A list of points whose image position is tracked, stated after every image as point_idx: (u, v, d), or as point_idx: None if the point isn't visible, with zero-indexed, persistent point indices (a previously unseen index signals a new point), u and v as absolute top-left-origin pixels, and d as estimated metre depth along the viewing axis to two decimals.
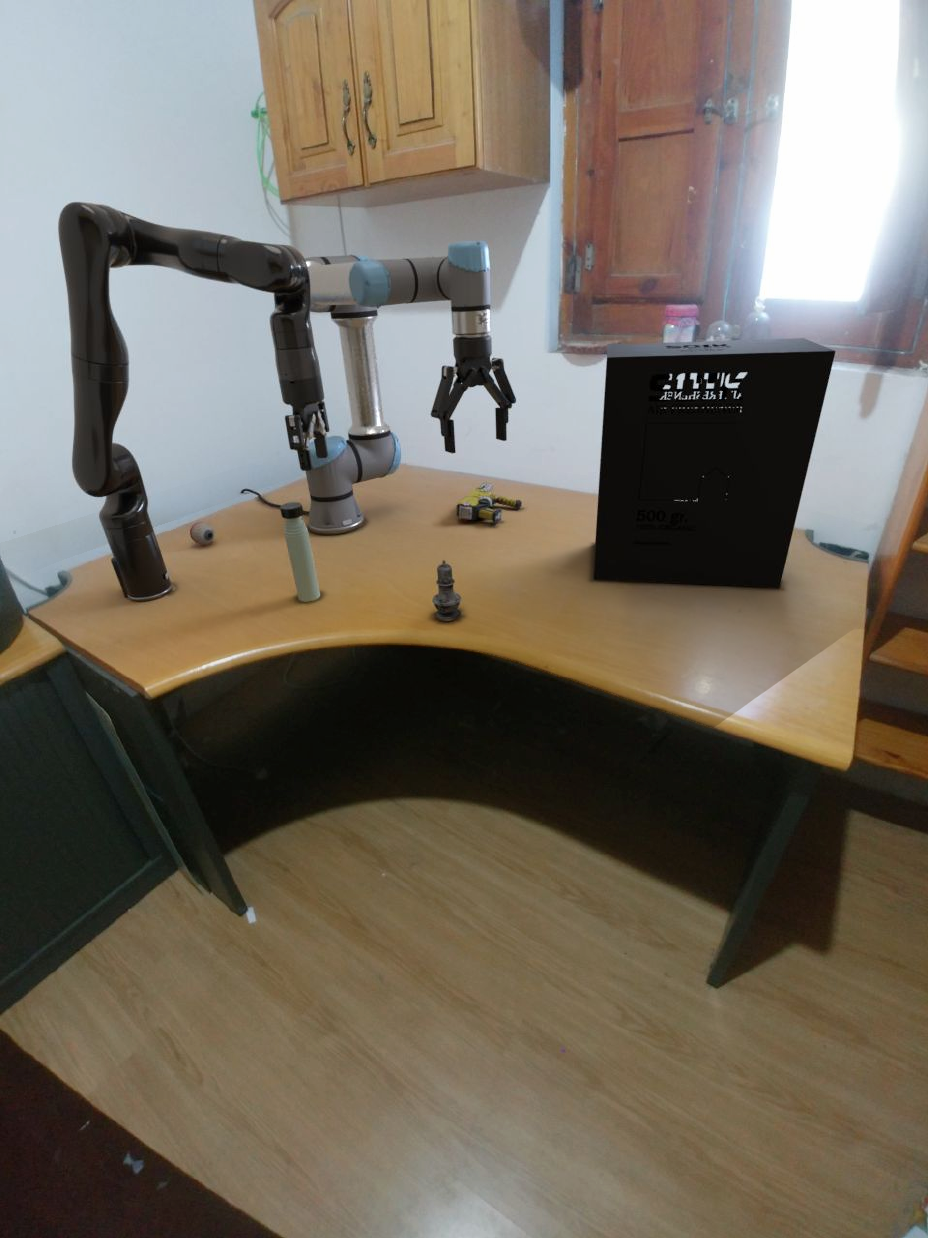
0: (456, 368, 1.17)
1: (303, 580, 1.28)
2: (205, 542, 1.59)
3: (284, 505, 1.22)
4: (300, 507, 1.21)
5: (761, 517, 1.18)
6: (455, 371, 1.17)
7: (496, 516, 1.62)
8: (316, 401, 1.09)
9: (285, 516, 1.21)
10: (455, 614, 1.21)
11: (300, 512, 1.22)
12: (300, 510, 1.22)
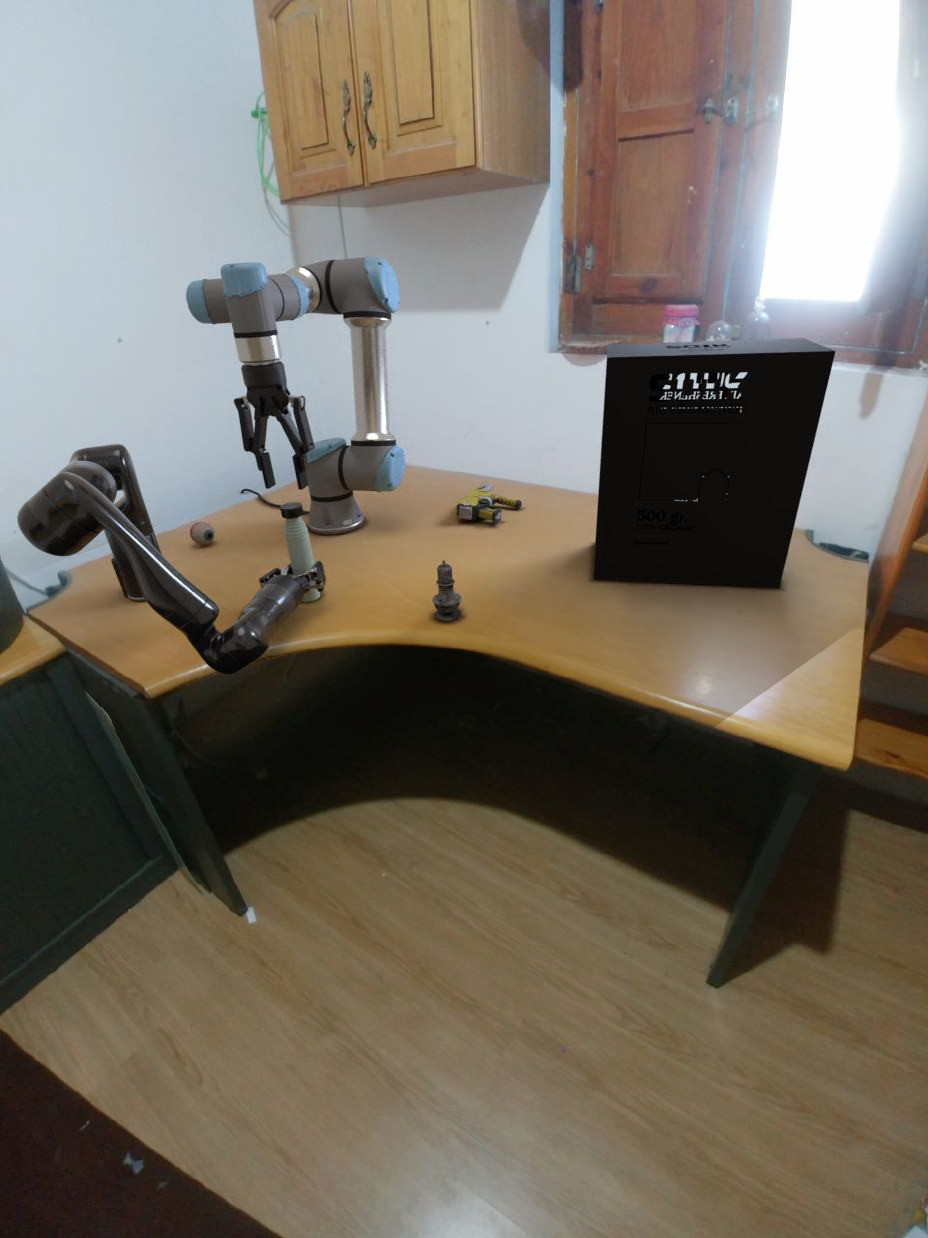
0: None
1: None
2: (205, 542, 1.59)
3: (284, 505, 1.22)
4: (300, 507, 1.21)
5: (761, 517, 1.18)
6: None
7: (496, 516, 1.62)
8: None
9: (285, 516, 1.21)
10: (455, 614, 1.21)
11: (300, 512, 1.22)
12: (300, 510, 1.22)
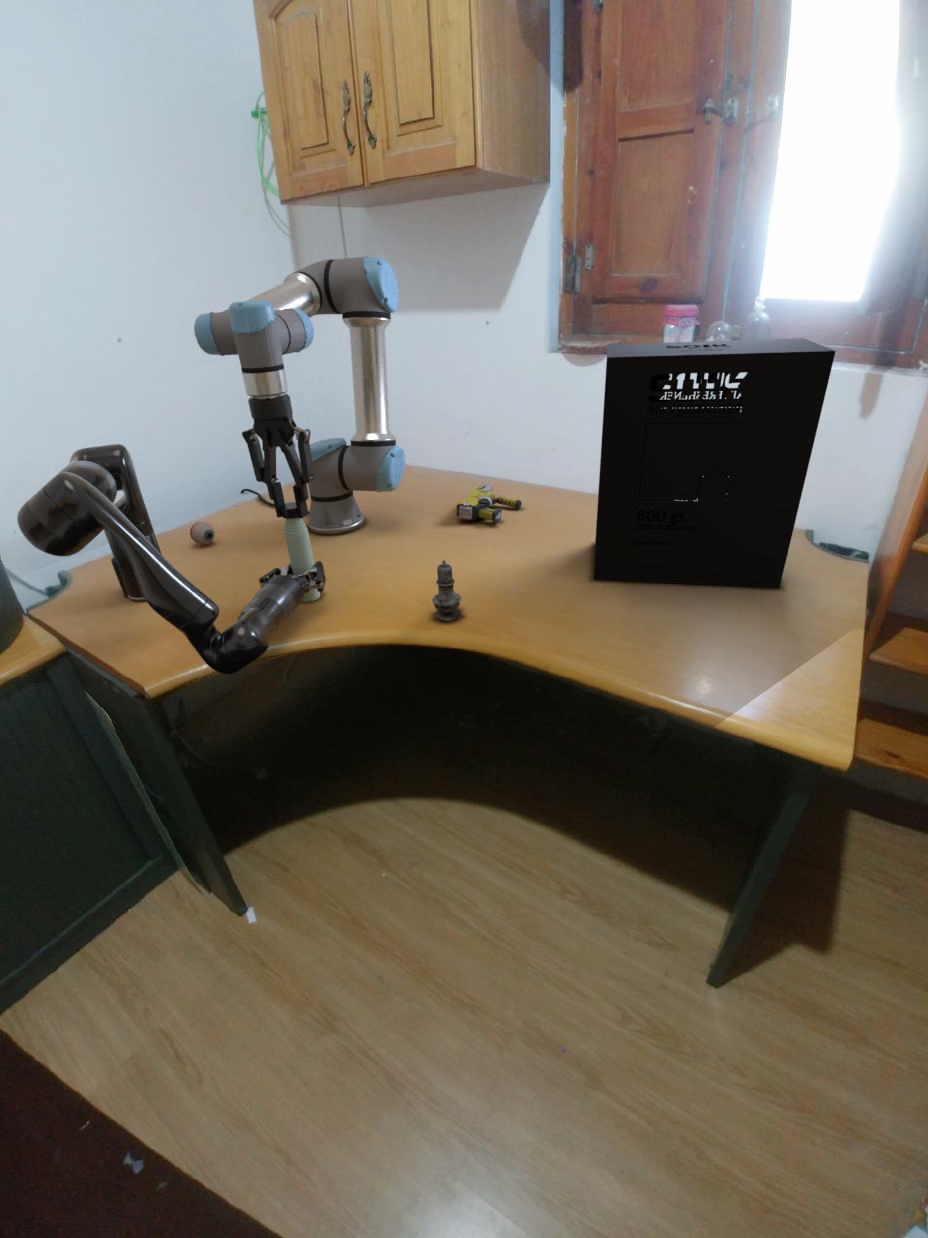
0: None
1: None
2: (205, 542, 1.59)
3: (284, 505, 1.22)
4: None
5: (761, 517, 1.18)
6: None
7: (496, 516, 1.62)
8: None
9: (285, 516, 1.21)
10: (455, 614, 1.21)
11: None
12: None
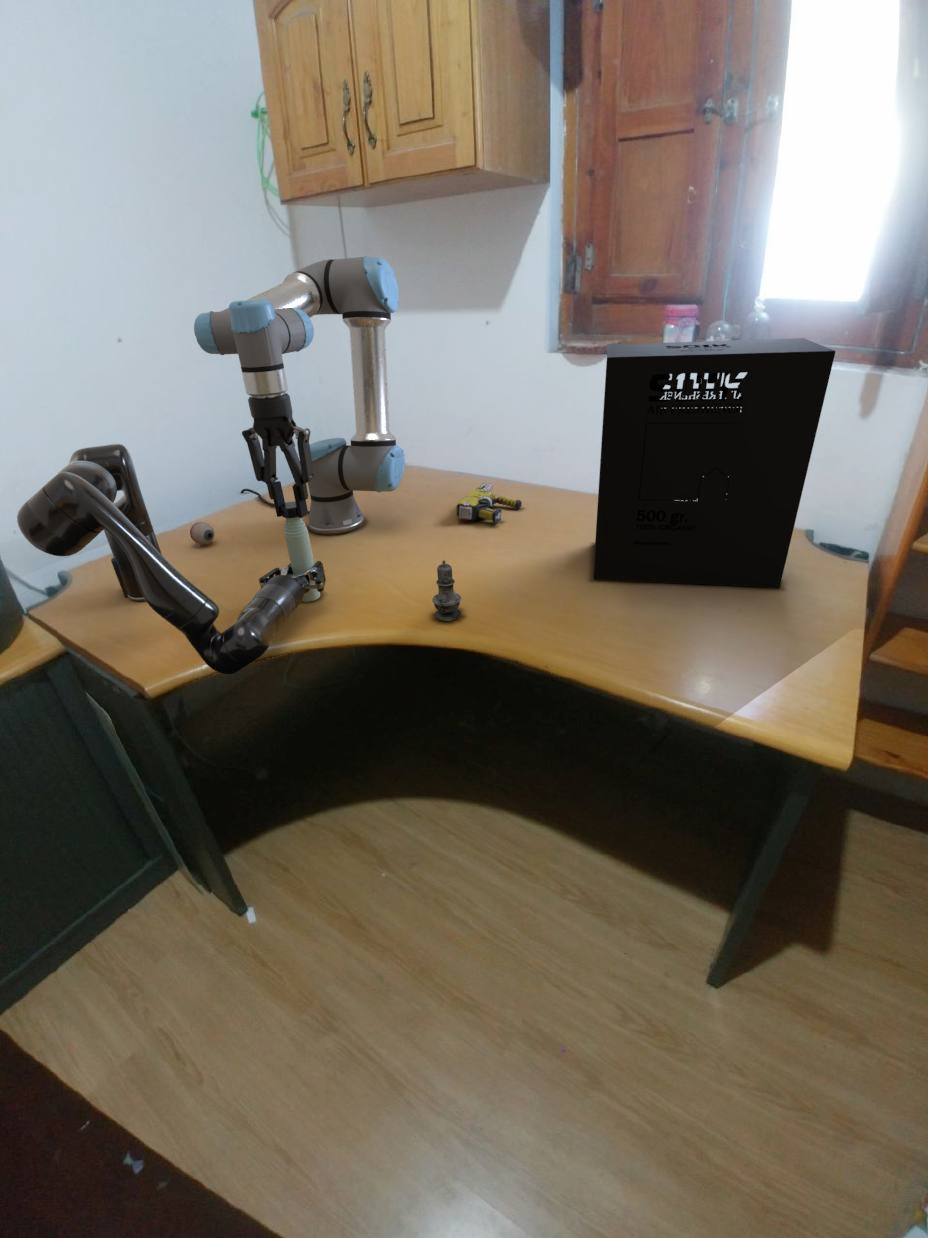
0: None
1: None
2: (205, 542, 1.59)
3: (292, 506, 1.21)
4: None
5: (761, 517, 1.18)
6: None
7: (496, 516, 1.62)
8: None
9: None
10: (455, 614, 1.21)
11: None
12: None
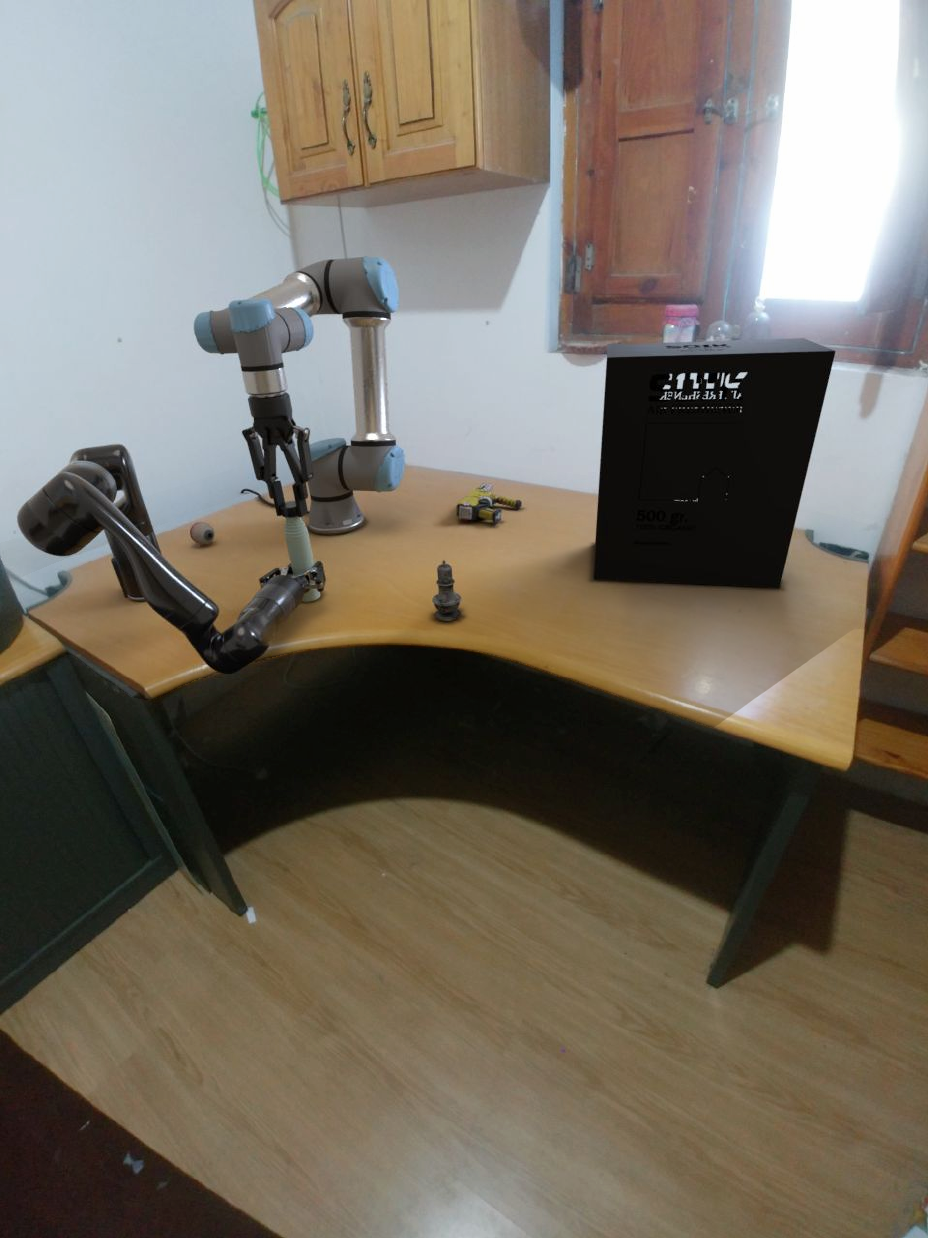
0: None
1: None
2: (205, 542, 1.59)
3: (293, 502, 1.23)
4: (285, 509, 1.20)
5: (761, 517, 1.18)
6: None
7: (496, 516, 1.62)
8: None
9: None
10: (455, 614, 1.21)
11: (284, 513, 1.21)
12: (284, 511, 1.20)
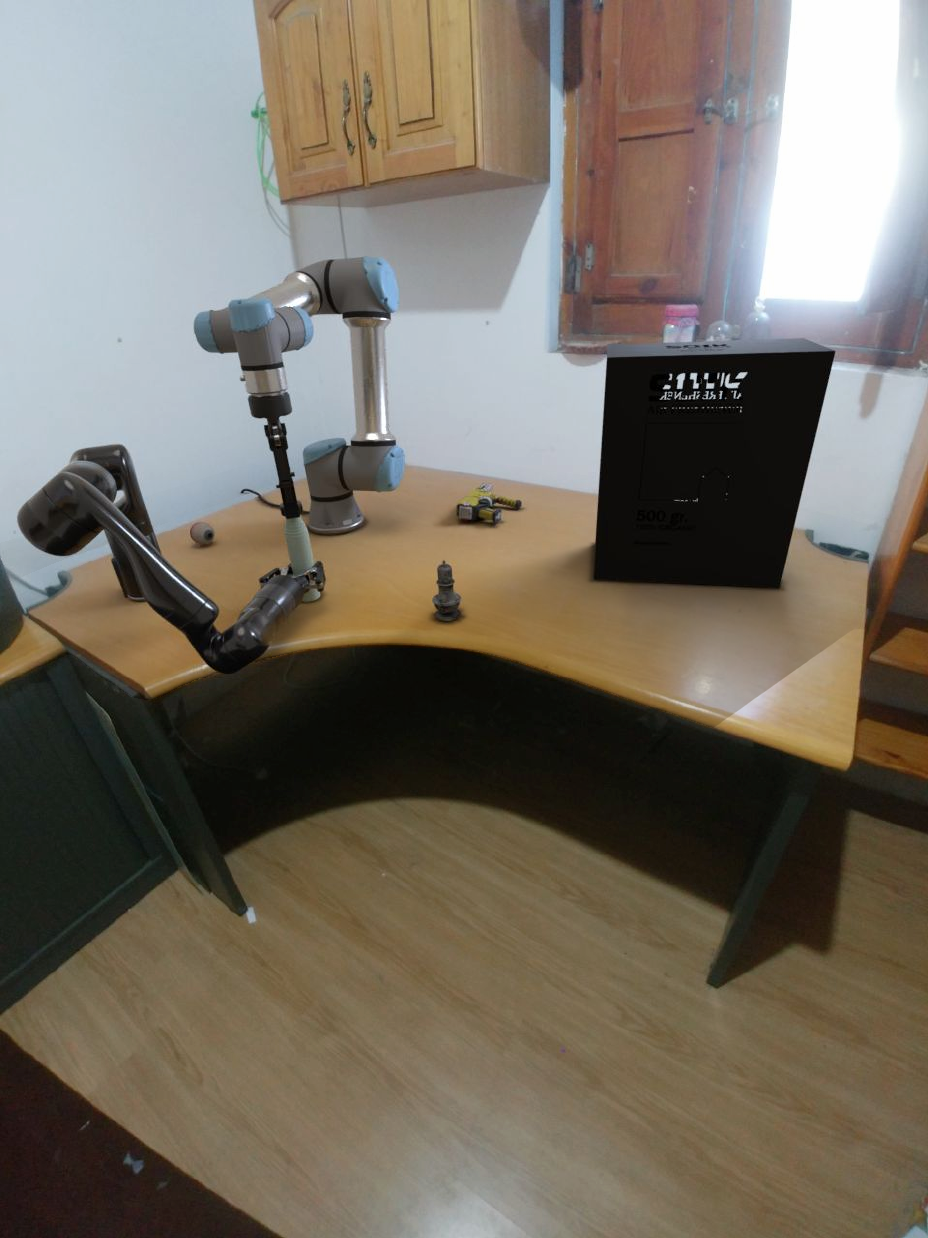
0: None
1: None
2: (205, 542, 1.59)
3: None
4: None
5: (761, 517, 1.18)
6: None
7: (496, 516, 1.62)
8: None
9: None
10: (455, 614, 1.21)
11: (302, 508, 1.22)
12: (301, 506, 1.22)
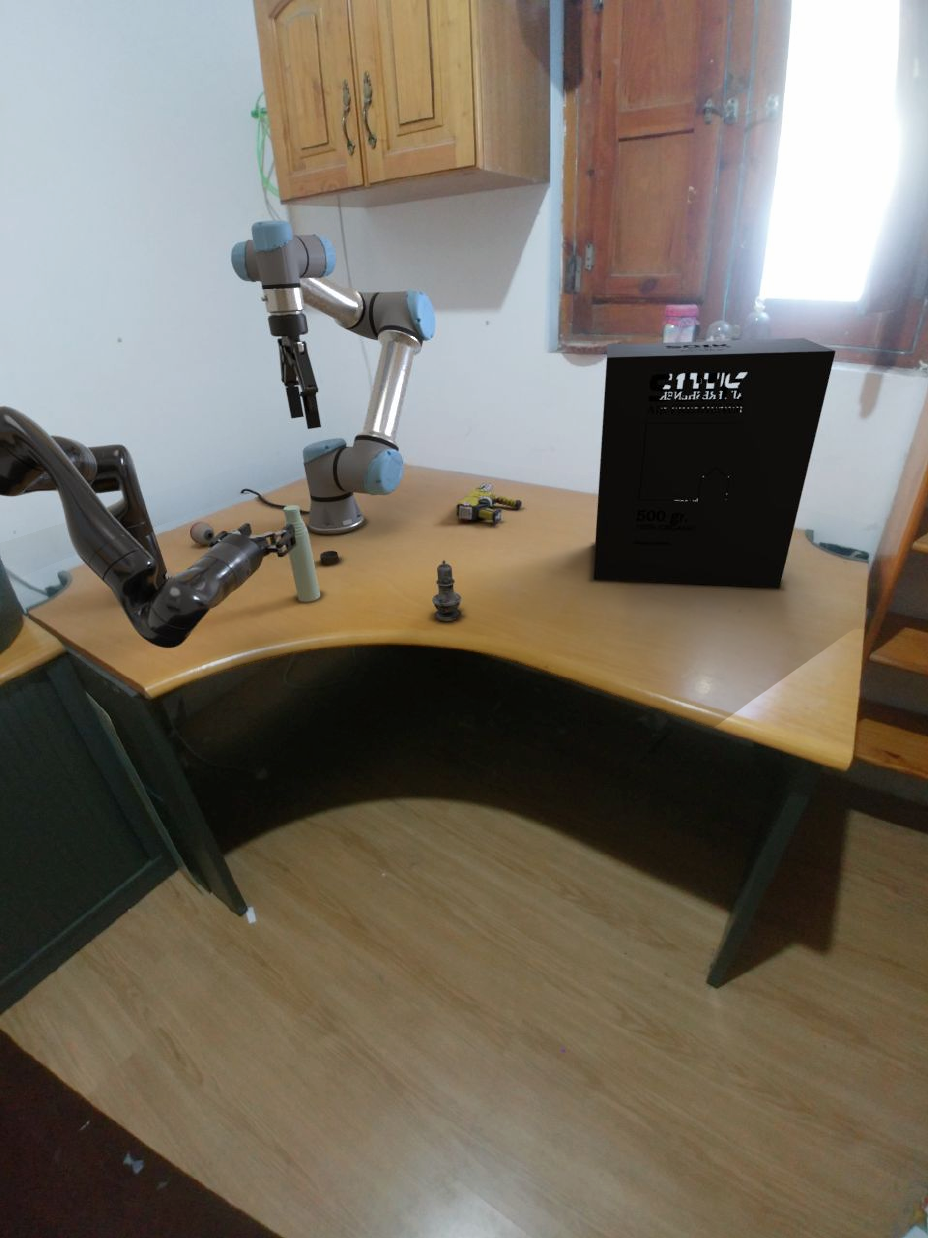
0: None
1: (302, 580, 1.28)
2: (205, 542, 1.59)
3: (323, 555, 1.46)
4: None
5: (761, 517, 1.18)
6: None
7: (496, 516, 1.62)
8: None
9: (330, 563, 1.46)
10: (455, 614, 1.21)
11: (338, 557, 1.48)
12: None
